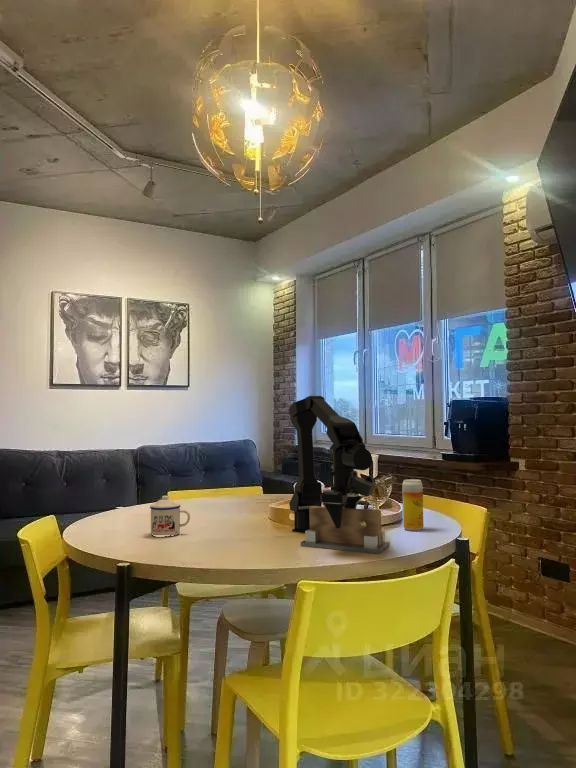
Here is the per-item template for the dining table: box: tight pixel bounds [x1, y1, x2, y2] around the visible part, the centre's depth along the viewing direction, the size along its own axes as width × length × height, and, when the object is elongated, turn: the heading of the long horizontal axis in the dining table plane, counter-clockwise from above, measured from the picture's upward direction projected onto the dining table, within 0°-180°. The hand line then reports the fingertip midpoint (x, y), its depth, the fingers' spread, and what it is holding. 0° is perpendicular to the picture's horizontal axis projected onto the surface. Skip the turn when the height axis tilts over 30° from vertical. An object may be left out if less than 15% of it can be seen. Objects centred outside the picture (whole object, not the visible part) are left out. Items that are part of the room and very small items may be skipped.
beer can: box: [401, 478, 424, 532], centre depth 182 cm, size 6×6×15 cm
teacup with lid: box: [149, 495, 191, 536], centre depth 179 cm, size 12×9×12 cm
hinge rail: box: [300, 529, 391, 554], centre depth 161 cm, size 22×10×4 cm, turn 63°
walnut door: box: [309, 505, 382, 546], centre depth 160 cm, size 20×3×9 cm, turn 63°
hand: (344, 525), depth 161 cm, fingers open, 9 cm apart
